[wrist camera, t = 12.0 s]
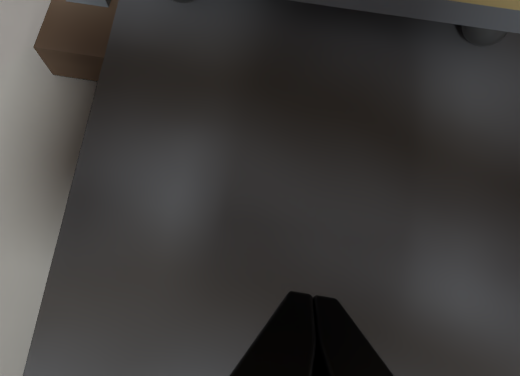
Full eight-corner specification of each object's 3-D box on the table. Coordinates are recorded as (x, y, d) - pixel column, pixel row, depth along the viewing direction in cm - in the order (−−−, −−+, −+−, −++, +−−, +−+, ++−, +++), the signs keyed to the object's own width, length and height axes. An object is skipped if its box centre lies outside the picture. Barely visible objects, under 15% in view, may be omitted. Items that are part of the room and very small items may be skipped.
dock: (596, 684, 12) (1028, 1105, 5) (-99, 555, 12) (-490, 791, 6) (541, -105, 21) (671, -305, 15) (149, -158, 22) (106, -373, 15)
